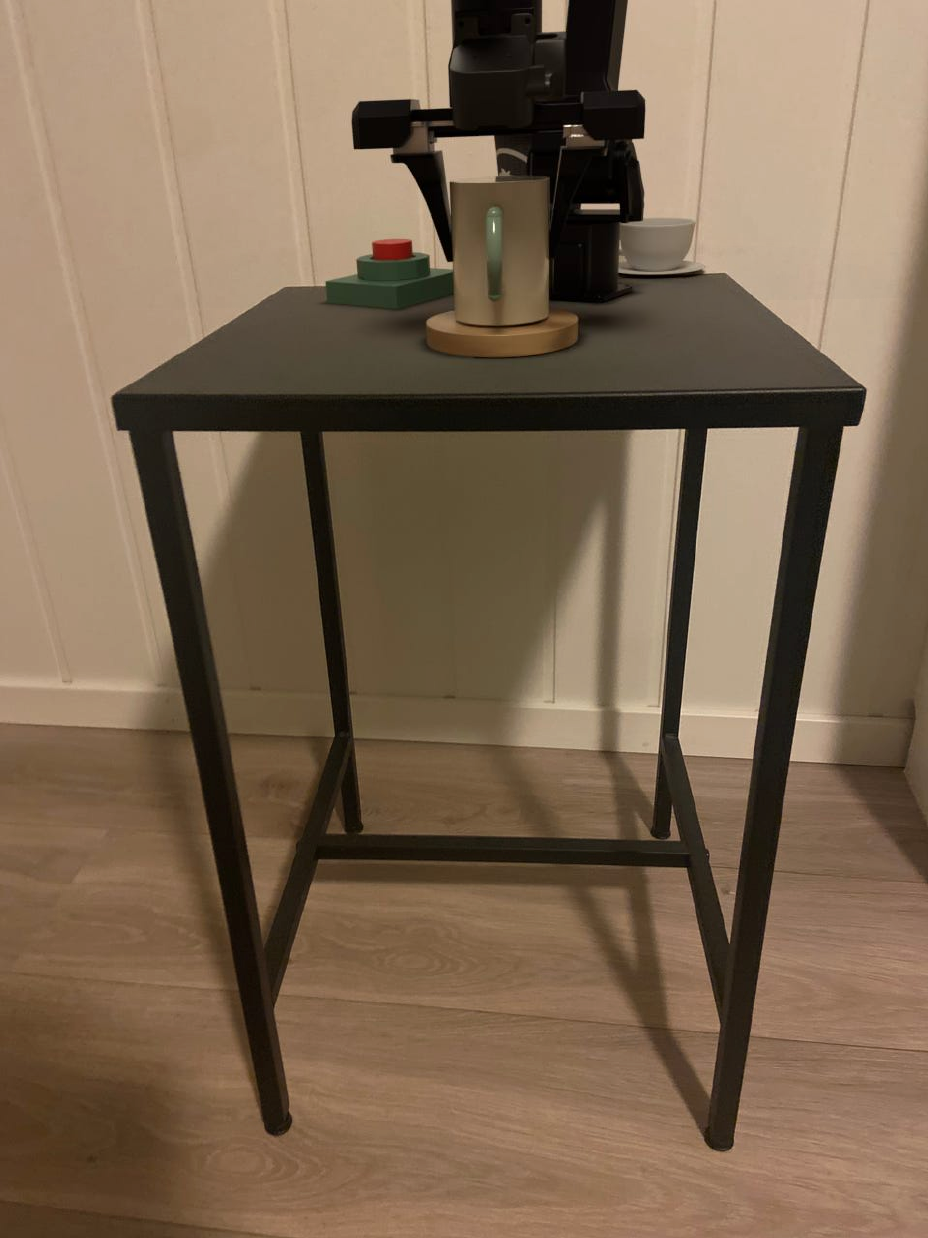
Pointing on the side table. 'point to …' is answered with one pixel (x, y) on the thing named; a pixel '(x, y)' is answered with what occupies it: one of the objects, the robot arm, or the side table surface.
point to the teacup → (657, 246)
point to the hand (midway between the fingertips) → (500, 260)
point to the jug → (500, 249)
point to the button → (392, 249)
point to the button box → (391, 283)
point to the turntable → (502, 336)
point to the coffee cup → (517, 164)
